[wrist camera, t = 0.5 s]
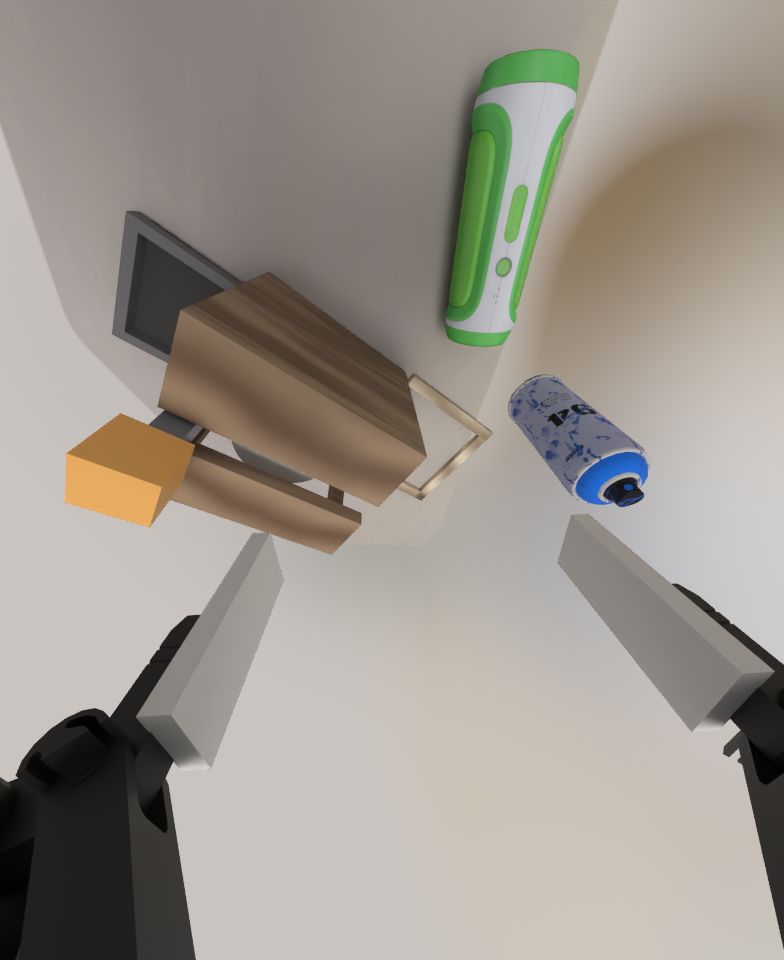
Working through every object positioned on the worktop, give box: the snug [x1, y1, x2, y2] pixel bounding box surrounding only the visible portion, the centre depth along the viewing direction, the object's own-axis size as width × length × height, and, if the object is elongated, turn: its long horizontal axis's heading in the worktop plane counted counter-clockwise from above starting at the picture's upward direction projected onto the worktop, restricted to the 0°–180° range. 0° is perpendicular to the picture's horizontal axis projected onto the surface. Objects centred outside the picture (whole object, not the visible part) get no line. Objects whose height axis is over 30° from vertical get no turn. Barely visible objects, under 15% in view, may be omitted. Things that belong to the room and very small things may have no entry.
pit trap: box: [112, 211, 242, 363], centre depth 31 cm, size 12×10×2 cm
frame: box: [397, 374, 493, 500], centre depth 45 cm, size 17×16×1 cm
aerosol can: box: [508, 374, 650, 507], centre depth 34 cm, size 8×8×20 cm
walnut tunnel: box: [158, 272, 427, 554], centre depth 31 cm, size 16×18×18 cm
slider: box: [65, 410, 203, 527], centre depth 24 cm, size 12×4×24 cm, turn 143°
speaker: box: [445, 49, 579, 347], centre depth 26 cm, size 18×7×8 cm, turn 178°
